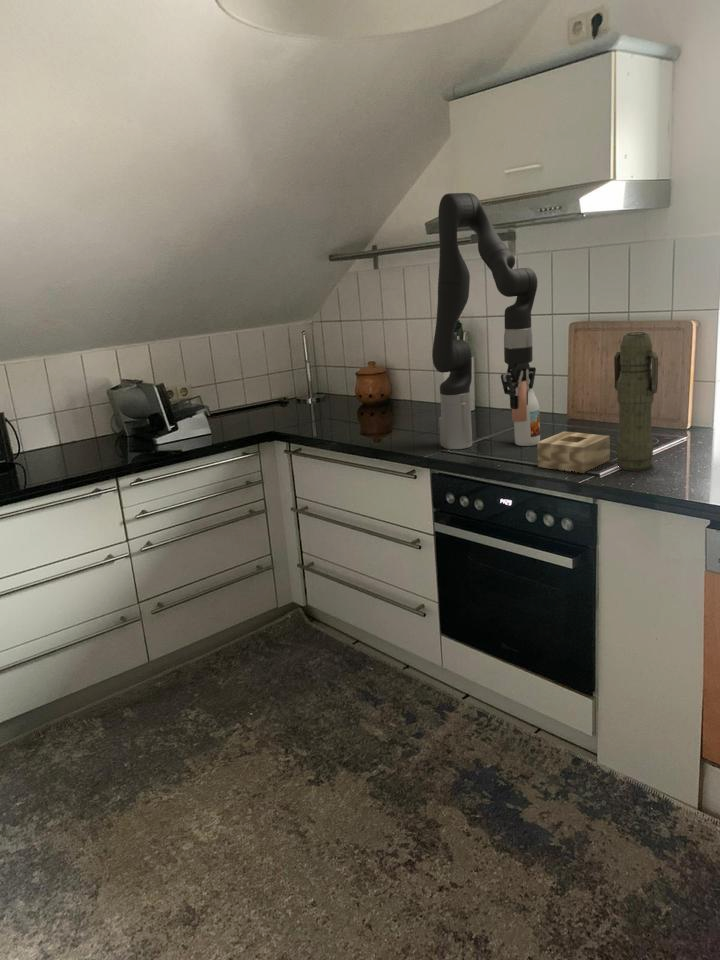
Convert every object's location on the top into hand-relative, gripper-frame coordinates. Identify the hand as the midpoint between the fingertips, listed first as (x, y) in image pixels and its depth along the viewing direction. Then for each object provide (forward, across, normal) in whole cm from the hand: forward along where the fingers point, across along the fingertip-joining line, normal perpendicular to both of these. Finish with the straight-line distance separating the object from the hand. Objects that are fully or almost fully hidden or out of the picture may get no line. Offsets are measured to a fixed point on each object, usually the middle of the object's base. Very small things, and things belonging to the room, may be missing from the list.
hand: (519, 406), depth 206 cm
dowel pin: (+4, 0, 0) cm, 4 cm away
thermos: (+16, -11, +28) cm, 34 cm away
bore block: (+16, -6, +14) cm, 22 cm away
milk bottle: (+17, -20, -11) cm, 28 cm away
